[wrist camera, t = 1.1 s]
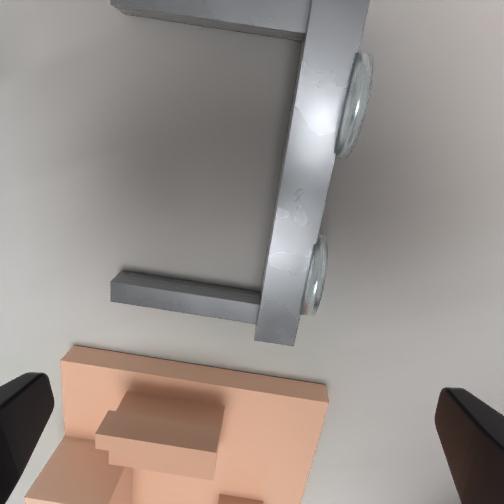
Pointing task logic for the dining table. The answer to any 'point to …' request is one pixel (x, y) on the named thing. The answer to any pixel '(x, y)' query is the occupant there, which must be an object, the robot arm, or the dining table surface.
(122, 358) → the display stand
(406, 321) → the dining table surface
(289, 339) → the glasses frame
